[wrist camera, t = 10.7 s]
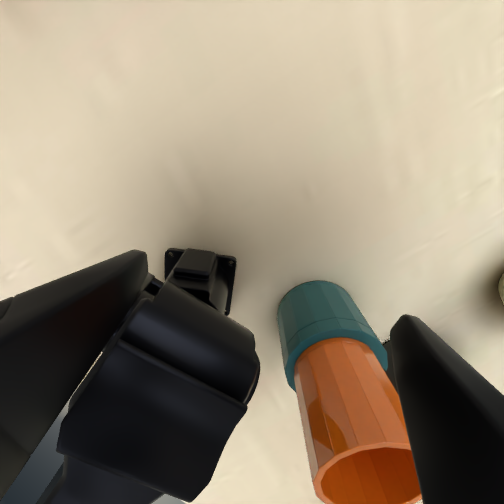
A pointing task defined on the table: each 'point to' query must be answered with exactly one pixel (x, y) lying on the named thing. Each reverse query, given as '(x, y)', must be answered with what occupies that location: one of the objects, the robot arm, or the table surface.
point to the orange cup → (353, 426)
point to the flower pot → (501, 288)
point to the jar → (320, 322)
